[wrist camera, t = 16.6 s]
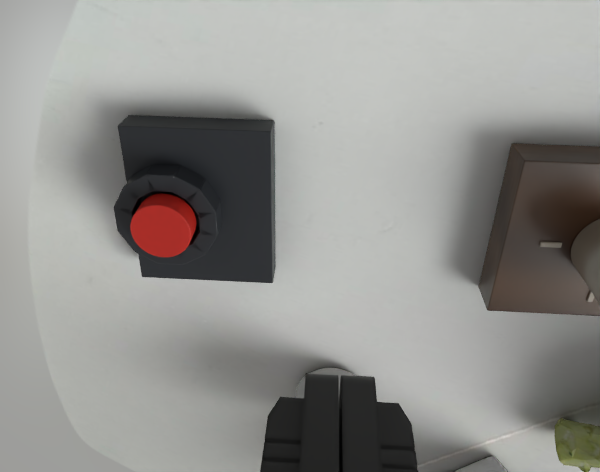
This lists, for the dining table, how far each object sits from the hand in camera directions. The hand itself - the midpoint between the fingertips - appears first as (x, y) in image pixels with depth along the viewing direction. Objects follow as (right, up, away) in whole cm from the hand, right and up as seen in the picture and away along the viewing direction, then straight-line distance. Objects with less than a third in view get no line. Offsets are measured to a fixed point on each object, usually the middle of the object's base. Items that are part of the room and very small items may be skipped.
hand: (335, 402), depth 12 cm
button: (-10, +5, +25) cm, 27 cm away
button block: (-8, +7, +28) cm, 30 cm away
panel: (+20, +4, +28) cm, 34 cm away
